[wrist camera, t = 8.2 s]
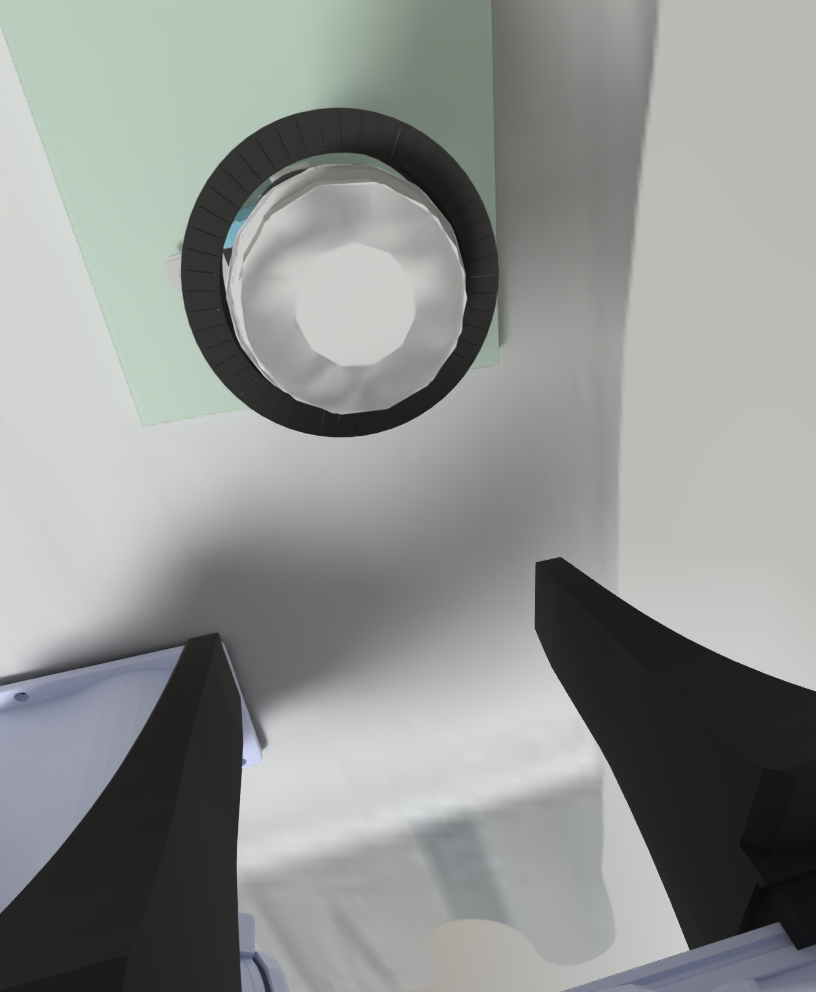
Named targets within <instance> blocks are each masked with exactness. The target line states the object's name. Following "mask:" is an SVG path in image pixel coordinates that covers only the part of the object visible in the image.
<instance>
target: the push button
mask: <svg viewBox="0 0 816 992" xmlns="http://www.w3.org/2000/svg"><path fill="white" fill-rule="evenodd" d="M329 153H354V154H363V155H367V156H370V157H372V158H375V159H377V160H379V161H381V162H383V163H384V164H386V165H388V166H390V167H391V168H393V169H394V170H395V171H397V172H398V173H399V174H401V175H402V176H403V177H404V178H405V179H406V180H405V179H403V178H401V177H398V176H396V175H394V174H392V173H390V172H388V171H386V170H384V169H382V168H380V167H378V166H373V165H369V164H323V165H319V166H314V167H311V165H310V164H309V163H308V162H306V161H305V162H301V163H297V164H294V165H291V164H293V163H295V162H297V161H300V160H303V159H306V158H310V157H313V156H318V155H323V154H329ZM289 165H291V166H289ZM287 166H288V167H287ZM269 177H270V180H271V183H272V184H271V185H269V186H268V187H267V188H266V190H265V191H264V192H263V193H262V194H261V195H259V200H260V201H259V203H258V204H255V205H252V206H249V207H245V208H242V209H241V207H242V206H243V204H244V203H245V202H246V200H247V199H248V198H249V197H250V196H251V195H252V193H253V192H254V191H255V190H256V189H257V188H258V187H259V186H260V185H261V184H262V183H264V182H265V181H266V180H267V179H268V178H269ZM164 269H165V272H166V274H167V276H168V278H169V280H170V282H171V285H172V287H173V289H174V290H175V291H177V292H180V291H182V295H183V301H184V307H185V311H186V315H187V319H188V322H189V326H190V328H191V331H192V333H193V336H194V338H195V341H196V343H197V345H198V347H199V349H200V351H201V353H202V355H203V357H204V358H205V360H206V361H207V363H208V364H209V366H210V367H211V369H212V370H213V372H214V373H215V374H216V376H217V377H218V378H219V379H220V381H221V382H222V383H223V384H224V385H225V386H226V387H227V388H228V389H229V390H230V391H231V392H232V393H233V394H234V395H235V396H236V397H237V398H238V399H239V400H241V401H242V402H243V403H244V404H245V405H247V406H248V407H249V408H251V409H252V410H254V411H255V412H257V413H258V414H260V415H261V416H263V417H265V418H267V419H269V420H271V421H273V422H275V423H277V424H279V425H282V426H284V427H287V428H289V429H292V430H296V431H299V432H303V433H307V434H312V435H317V436H326V437H355V436H365V435H369V434H374V433H379V432H382V431H386V430H389V429H392V428H395V427H397V426H399V425H402V424H404V423H407V422H408V421H410V420H412V419H414V418H416V417H418V416H420V415H421V414H423V413H424V412H426V411H427V410H429V409H430V408H432V407H433V406H434V405H436V404H437V403H438V402H439V401H440V400H442V399H443V398H444V397H445V396H446V395H447V394H448V393H449V392H450V391H451V390H452V389H453V388H454V387H455V386H456V385H457V384H458V383H459V381H460V380H461V379H462V378H463V377H464V375H465V374H466V373H467V371H468V370H469V368H470V367H471V365H472V364H473V362H474V361H475V359H476V357H477V355H478V353H479V352H480V350H481V348H482V346H483V343H484V341H485V339H486V337H487V334H488V331H489V328H490V325H491V322H492V319H493V314H494V310H495V306H496V300H497V292H498V275H499V269H498V254H497V248H496V242H495V236H494V233H493V229H492V225H491V221H490V219H489V216H488V213H487V211H486V208H485V206H484V203H483V201H482V199H481V197H480V195H479V193H478V191H477V190H476V188H475V186H474V185H473V183H472V182H471V180H470V179H469V177H468V175H467V174H466V173H465V171H464V170H463V169H462V168H461V166H460V165H459V164H458V163H457V162H456V160H455V159H454V158H453V157H452V156H451V155H450V154H449V153H448V152H447V151H446V150H445V149H444V148H443V147H442V146H440V145H439V144H438V143H436V142H435V141H434V140H433V139H431V138H430V137H429V136H427V135H426V134H424V133H423V132H421V131H419V130H418V129H416V128H414V127H413V126H411V125H409V124H407V123H404V122H402V121H400V120H398V119H396V118H393V117H390V116H387V115H384V114H380V113H377V112H373V111H368V110H362V109H356V108H338V107H336V108H323V109H314V110H310V111H305V112H300V113H296V114H293V115H290V116H287V117H284V118H281V119H278V120H276V121H274V122H272V123H270V124H268V125H266V126H264V127H262V128H260V129H259V130H257V131H256V132H254V133H253V134H251V135H250V136H248V137H247V138H245V139H244V140H243V141H242V142H241V143H240V144H238V145H237V146H236V147H235V148H234V149H232V150H231V151H230V153H229V154H228V155H227V156H226V157H225V158H224V159H223V160H222V161H221V162H220V163H219V165H218V166H217V167H216V169H215V170H214V171H213V173H212V174H211V176H210V177H209V178H208V180H207V181H206V183H205V185H204V187H203V189H202V190H201V192H200V194H199V196H198V198H197V200H196V202H195V205H194V207H193V209H192V212H191V214H190V217H189V221H188V224H187V228H186V231H185V235H184V241H183V248H182V252H181V253H178V254H175V255H171V256H169V257H168V260H167V262H165V264H164ZM224 283H226V290H225V284H224Z"/></svg>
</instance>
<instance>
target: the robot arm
mask: <svg viewBox="0 0 816 992" xmlns="http://www.w3.org/2000/svg"><path fill="white" fill-rule="evenodd" d="M535 630H536V632H537V635H538V637H539V639H540V642H541V644H542V647H543V649H544V651H545V653H546V656H547V658H548V660H549V662H550V664H551V667H552V668H553V670H554V672H555V673H556V675H557V677H558V679H559V680H560V682H561V684H562V685H563V687H564V689H565V690H566V692H567V694H568V695H569V697H570V699H571V700H572V702H573V704H574V705H575V707H576V709H577V710H578V712H579V714H580V715H581V717H582V719H583V720H584V722H585V724H586V725H587V727H588V729H589V730H590V732H591V734H592V735H593V737H594V739H595V740H596V742H597V744H598V745H599V747H600V749H601V750H602V752H603V754H604V756H605V758H606V760H607V761H608V763H609V765H610V767H611V769H612V771H613V773H614V776H615V778H616V780H617V782H618V784H619V786H620V788H621V790H622V792H623V795H624V797H625V799H626V801H627V803H628V805H629V807H630V809H631V812H632V814H633V816H634V818H635V821H636V823H637V825H638V827H639V829H640V831H641V834H642V836H643V838H644V840H645V843H646V845H647V847H648V849H649V852H650V854H651V857H652V859H653V861H654V864H655V866H656V868H657V871H658V873H659V876H660V878H661V880H662V883H663V885H664V887H665V890H666V892H667V894H668V897H669V899H670V902H671V904H672V907H673V909H674V912H675V914H676V917H677V919H678V922H679V924H680V927H681V929H682V932H683V934H684V937H685V939H686V942H687V944H688V947H689V949H690V951H687V952H684V953H680V954H678V955H674V956H671V957H668V958H665V959H662V960H658V961H655V962H652V963H649V964H646V965H643V966H640V967H637V968H633V969H631V970H627V971H624V972H621V973H618V974H615V975H612V976H608V977H605V978H602V979H599V980H596V981H593V982H590V983H587V984H584V985H580V986H577V987H574V988H571V989H568V990H565V991H562V992H816V691H813V690H810V689H807V688H804V687H801V686H798V685H795V684H792V683H789V682H786V681H783V680H781V679H778V678H775V677H773V676H770V675H767V674H764V673H762V672H760V671H757V670H755V669H752V668H750V667H748V666H745V665H743V664H740V663H738V662H735V661H733V660H731V659H729V658H726V657H724V656H722V655H720V654H718V653H716V652H714V651H712V650H709V649H707V648H705V647H703V646H701V645H699V644H697V643H695V642H693V641H691V640H689V639H687V638H685V637H683V636H682V635H680V634H678V633H676V632H674V631H673V630H671V629H669V628H667V627H666V626H664V625H662V624H661V623H659V622H657V621H655V620H654V619H652V618H650V617H649V616H647V615H645V614H643V613H642V612H640V611H639V610H637V609H636V608H634V607H633V606H631V605H630V604H628V603H626V602H625V601H623V600H622V599H620V598H619V597H617V596H616V595H614V594H613V593H611V592H610V591H608V590H607V589H606V588H604V587H603V586H601V585H600V584H598V583H597V582H596V581H594V580H593V579H591V578H590V577H588V576H587V575H586V574H584V573H583V572H581V571H580V570H579V569H577V568H576V567H574V566H573V565H572V564H570V563H569V562H567V561H566V560H564V559H563V558H561V557H558V558H554V559H549V560H545V561H540V562H536V573H535ZM20 693H26V694H20ZM261 760H262V749H261V747H260V744H259V741H258V738H257V735H256V732H255V729H254V726H253V724H252V721H251V718H250V715H249V712H248V709H247V706H246V704H245V701H244V698H243V695H242V692H241V689H240V686H239V683H238V681H237V678H236V675H235V672H234V669H233V666H232V663H231V661H230V658H229V655H228V652H227V649H226V646H225V644H224V643H223V642H222V641H221V640H220V637H219V634H218V633H214V634H210V635H205V636H201V637H196V638H192V639H189V640H188V641H187V642H186V644H185V645H183V646H179V647H174V648H170V649H165V650H161V651H156V652H152V653H147V654H143V655H138V656H134V657H129V658H125V659H120V660H116V661H111V662H107V663H102V664H98V665H93V666H89V667H84V668H80V669H75V670H71V671H66V672H62V673H57V674H53V675H48V676H44V677H39V678H35V679H30V680H26V681H21V682H17V683H12V684H8V685H3V686H0V992H290V990H289V988H288V983H287V981H286V978H285V975H284V972H283V970H282V968H281V966H280V965H279V963H278V961H277V960H276V959H275V958H274V957H273V956H272V955H271V954H269V953H267V952H264V951H255V946H254V915H252V914H247V913H242V912H239V911H238V897H237V837H238V821H239V806H240V791H241V775H242V768H246V767H250V766H253V765H256V764H258V763H259V762H261Z"/></svg>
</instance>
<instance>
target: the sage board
mask: <svg viewBox="0 0 816 992" xmlns="http://www.w3.org/2000/svg"><path fill="white" fill-rule="evenodd" d="M0 26H1V29H2V32H3V35H4V38H5V41H6V43H7V46H8V49H9V52H10V55H11V57H12V60H13V63H14V66H15V69H16V72H17V74H18V77H19V80H20V83H21V86H22V88H23V91H24V94H25V97H26V100H27V103H28V105H29V108H30V111H31V114H32V117H33V119H34V122H35V125H36V128H37V131H38V134H39V136H40V139H41V142H42V145H43V148H44V150H45V153H46V156H47V159H48V162H49V165H50V167H51V170H52V173H53V176H54V179H55V181H56V184H57V187H58V190H59V193H60V196H61V198H62V201H63V204H64V207H65V210H66V212H67V215H68V218H69V221H70V224H71V227H72V229H73V232H74V235H75V238H76V241H77V243H78V246H79V249H80V252H81V255H82V258H83V260H84V263H85V266H86V269H87V272H88V274H89V277H90V280H91V283H92V286H93V289H94V291H95V294H96V297H97V300H98V303H99V305H100V308H101V311H102V314H103V317H104V320H105V322H106V325H107V328H108V331H109V334H110V336H111V339H112V342H113V345H114V348H115V351H116V353H117V356H118V359H119V362H120V365H121V367H122V370H123V373H124V376H125V379H126V382H127V384H128V387H129V390H130V393H131V396H132V398H133V401H134V404H135V407H136V410H137V413H138V415H139V418H140V421H141V424H142V427H144V426H149V425H155V424H161V423H167V422H172V421H178V420H184V419H190V418H195V417H201V416H207V415H212V414H218V413H224V412H230V411H235V410H241V409H247V408H249V407H248V406H247V405H245V404H244V403H243V402H242V401H241V400H239V399H238V398H237V397H236V396H235V395H234V394H233V393H232V392H231V391H230V390H229V389H228V388H227V387H226V386H225V385H224V384H223V383H222V382H221V381H220V379H219V378H218V377H217V376H216V374H215V373H214V372H213V370H212V369H211V367H210V366H209V364H208V363H207V361H206V360H205V358H204V357H203V355H202V353H201V351H200V349H199V347H198V345H197V343H196V341H195V338H194V336H193V333H192V331H191V328H190V326H189V322H188V319H187V315H186V311H185V307H184V301H183V295H182V291H180V292H177V291H175V290H174V289H173V287H172V285H171V282H170V280H169V278H168V276H167V274H166V272H165V269H164V264H165V262H167V260H168V257H169V256H171V255H175V254H178V253H181V252H182V248H183V241H184V235H185V231H186V228H187V224H188V221H189V217H190V214H191V212H192V209H193V207H194V205H195V202H196V200H197V198H198V196H199V194H200V192H201V190H202V189H203V187H204V185H205V183H206V181H207V180H208V178H209V177H210V176H211V174H212V173H213V171H214V170H215V169H216V167H217V166H218V165H219V163H220V162H221V161H222V160H223V159H224V158H225V157H226V156H227V155H228V154H229V153H230V151H231V150H232V149H234V148H235V147H236V146H237V145H238V144H240V143H241V142H242V141H243V140H244V139H245V138H247V137H248V136H250V135H251V134H253V133H254V132H256V131H257V130H259V129H260V128H262V127H264V126H266V125H268V124H270V123H272V122H274V121H276V120H278V119H281V118H284V117H287V116H290V115H293V114H296V113H300V112H305V111H310V110H314V109H323V108H336V107H338V108H356V109H362V110H368V111H373V112H377V113H380V114H384V115H387V116H390V117H393V118H396V119H398V120H400V121H402V122H404V123H407V124H409V125H411V126H413V127H414V128H416V129H418V130H419V131H421V132H423V133H424V134H426V135H427V136H429V137H430V138H431V139H433V140H434V141H435V142H436V143H438V144H439V145H440V146H442V147H443V148H444V149H445V150H446V151H447V152H448V153H449V154H450V155H451V156H452V157H453V158H454V159H455V160H456V162H457V163H458V164H459V165H460V166H461V168H462V169H463V170H464V171H465V173H466V174H467V175H468V177H469V179H470V180H471V182H472V183H473V185H474V186H475V188H476V190H477V191H478V193H479V195H480V197H481V199H482V201H483V203H484V206H485V208H486V211H487V213H488V216H489V219H490V221H491V225H492V229H493V233H494V236H495V242H496V248H497V240H496V192H495V144H494V96H493V49H492V1H491V0H0ZM305 161H306V162H308V163H309V164H310V165H311V167H314V166H319V165H323V164H369V165H373V166H378V167H380V168H382V169H384V170H386V171H388V172H390V173H392V174H394V175H396V176H398V177H401V178H403V179H405V178H404V177H403V176H402V175H401V174H399V173H398V172H397V171H395V170H394V169H393V168H391V167H390V166H388V165H386V164H384V163H383V162H381V161H379V160H377V159H375V158H372V157H370V156H367V155H363V154H354V153H329V154H323V155H318V156H313V157H310V158H306V159H303V160H300V161H297V162H295V163H293V164H291V165H294V164H297V163H301V162H305ZM291 165H289V166H291ZM287 167H288V166H287ZM405 180H406V179H405ZM271 184H272V183H271V180H270V177H269V178H268V179H267V180H266V181H265V182H264V183H262V184H261V185H260V186H259V187H258V188H257V189H256V190H255V191H254V192H253V193H252V195H251V196H250V197H249V198H248V199H247V200H246V202H245V203H244V204H243V206H242V207H241V209H242V208H245V207H249V206H252V205H255V204H258V203H259V201H260V200H259V195H261V194H262V193H263V192H264V191H265V190H266V188H267V187H268V186H269V185H271ZM224 284H225V290H226V283H224ZM498 364H499V336H498V292H497V300H496V306H495V310H494V314H493V319H492V322H491V325H490V328H489V331H488V334H487V337H486V339H485V341H484V343H483V346H482V348H481V350H480V352H479V353H478V355H477V357H476V359H475V361H474V362H473V364H472V365H471V367H470V368H469V370H470V369H475V368H481V367H487V366H493V365H498Z"/></svg>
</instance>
